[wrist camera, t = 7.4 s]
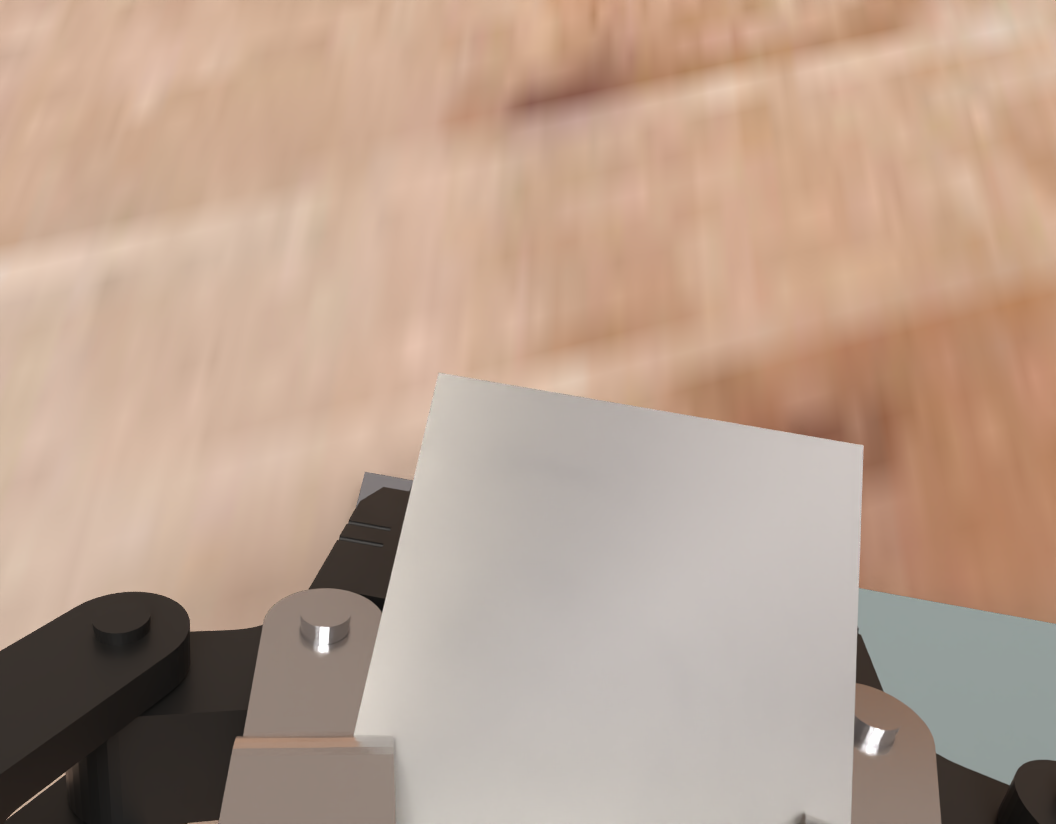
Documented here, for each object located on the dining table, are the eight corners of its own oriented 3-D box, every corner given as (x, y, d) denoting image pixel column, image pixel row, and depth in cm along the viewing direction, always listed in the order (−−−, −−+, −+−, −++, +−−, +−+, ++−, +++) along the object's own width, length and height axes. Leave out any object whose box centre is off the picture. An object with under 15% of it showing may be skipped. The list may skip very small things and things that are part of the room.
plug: (725, 576, 18) (971, 367, 8) (695, 910, 16) (982, 1123, 6) (433, 523, 18) (359, 265, 9) (361, 846, 16) (163, 958, 6)
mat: (1182, 651, 29) (1195, 649, 29) (1225, 1084, 25) (1241, 1091, 24) (821, 586, 30) (827, 582, 29) (800, 1000, 25) (807, 1006, 25)
